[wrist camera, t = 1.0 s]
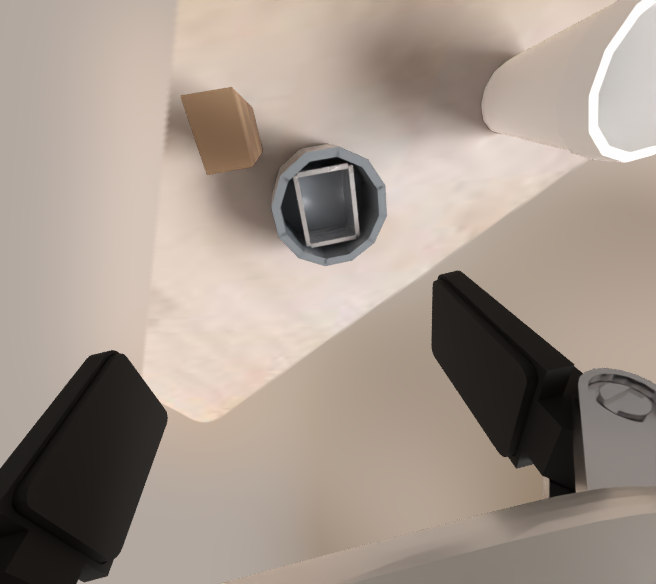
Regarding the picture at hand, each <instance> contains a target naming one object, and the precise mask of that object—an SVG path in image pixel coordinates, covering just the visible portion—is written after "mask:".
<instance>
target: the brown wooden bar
mask: <svg viewBox="0 0 656 584" xmlns="http://www.w3.org/2000/svg"><path fill="white" fill-rule="evenodd" d="M181 99H182V102H183V105H184V108H185V111H186V114H187V117H188V120H189V123H190V126H191V129H192V132H193V135H194V138H195V141H196V144H197V147H198V150H199V153H200V156H201V159H202V162H203V165H204V168H205V171H206V174H207V175H210V174H216V173H221V172H227V171H232V170H238V169H243V168H248V167H253V165H254V164H255V162H256V161H257V159H258V158H259V156H260V155H261V153H262V151H263V150H262V145H261V141H260V137H259V133H258V129H257V124H256V120H255V116H254V112H253V108H252V107H251V106H250V105H249V104H248V103H247V102H246V101H245V100H244V99H243V98H242V97H241V96H240V95H239V94H238V93H237V92H236V91H235V90H234V89H233V88H232V87H229V88H223V89H217V90H211V91H205V92H199V93H193V94H187V95H181Z"/></svg>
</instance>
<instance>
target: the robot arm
mask: <svg viewBox="0 0 656 584" xmlns="http://www.w3.org/2000/svg"><path fill="white" fill-rule="evenodd" d="M432 300H433V301H432V352H433V354H434V356H435V358H436V360H437V361H438V363H439V364H440V366H441V367H442V369H443V370H444V372H445V373H446V375H447V376H448V378H449V379H450V381H451V382H452V383H453V385H454V387H455V388H456V390H457V391H458V392H459V394H460V395H461V397H462V399H463V400H464V402H465V403H466V405H467V406H468V408H469V409H470V410H471V412H472V414H473V415H474V417H475V418H476V419H477V421H478V423H479V424H480V426H481V427H482V428H483V430H484V431H485V433H486V434H487V436H488V437H489V439H490V441H491V442H492V444H493V445H494V446H495V448H496V449H497V451H498V452H499V453H500V454H501V455H502V456H503V457H509V459H510V460H511V462H512V463H513V465H514V466H515V467H516V468H521V467H524V466H528V465H532V464H534V465H535V466H536V468H537V469H538V470H539V472H540V473H541V475H542V476H544V499H543V500H539V501H535V502H530V503H526V504H522V505H518V506H514V507H510V508H506V509H502V510H497V511H493V512H489V513H485V514H481V515H477V516H473V517H469V518H465V519H461V520H457V521H454V522H450V523H446V524H443V525H438V526H435V527H431V528H427V529H423V530H420V531H416V532H412V533H408V534H404V535H400V536H397V537H393V538H389V539H385V540H382V541H377V542H374V543H370V544H366V545H362V546H358V547H355V548H351V549H348V550H343V551H340V552H336V553H332V554H328V555H325V556H321V557H317V558H313V559H310V560H306V561H302V562H299V563H295V564H291V565H288V566H284V567H280V568H276V569H273V570H269V571H265V572H262V573H257V574H254V575H250V576H246V577H243V578H239V579H235V580H232V581H228V582H224V583H220V584H656V384H654V383H652V382H651V381H649V380H647V379H645V378H642V377H640V376H638V375H636V374H632V373H629V372H625V371H622V370H617V369H609V368H598V369H592V370H589V371H586V372H584V373H582V372H581V371H579V370H578V369H577V368H575V367H574V364H573V363H572V362H571V361H570V360H568V359H567V358H566V357H564V356H563V355H562V354H561V353H560V352H558V351H557V350H556V349H555V348H554V347H552V346H551V345H550V344H549V343H548V342H546V341H545V340H544V339H543V338H541V337H540V336H539V335H538V334H537V333H535V332H534V331H533V330H532V329H531V328H529V327H528V326H527V325H526V324H524V323H523V322H522V321H520V319H518V318H517V317H516V316H515V315H513V314H512V313H511V312H510V311H508V310H507V309H506V308H505V307H504V306H503V305H501V304H500V303H499V302H498V301H496V300H495V299H494V298H493V297H491V296H490V295H489V294H488V293H487V292H485V291H484V290H483V289H482V288H480V287H479V286H478V285H477V284H476V283H474V282H473V281H472V280H471V279H469V278H468V277H467V276H466V275H465V274H463V273H462V272H461V271H454V272H450V273H445V274H441V275H439V276H438V280H436V281H434V282H433V297H432ZM167 418H168V417H167V412H166V410H165V409H164V407H163V406H162V405H161V403H160V402H159V400H158V399H157V398H156V396H155V395H154V394H153V392H152V391H151V389H150V388H149V387H148V385H147V384H146V383H145V381H144V380H143V379H142V377H141V376H140V374H139V373H138V372H137V370H136V369H135V368H134V366H133V365H132V363H131V362H130V361H129V360H128V358H127V357H126V356H125V355H124V354H120V353H118V352H117V351H113V350H111V351H107V352H103V353H99V354H94V355H91V356H89V357H88V358H87V359H86V360H85V362H84V363H83V364H82V365H81V367H80V368H79V369H78V371H77V372H76V373H75V374H74V376H73V377H72V378H71V379H70V381H69V382H68V383H67V385H66V386H65V387H64V388H63V390H62V391H61V392H60V393H59V395H58V396H57V397H56V398H55V400H54V401H53V402H52V404H51V405H50V406H49V408H48V409H47V410H46V411H45V413H44V414H43V415H42V416H41V418H40V419H39V420H38V421H37V423H36V424H35V425H34V426H33V428H32V429H31V430H30V431H29V433H28V434H27V435H26V437H25V438H24V439H23V440H22V442H21V443H20V444H19V445H18V447H17V448H16V449H15V450H14V452H13V453H12V454H11V456H10V457H9V458H8V459H7V461H6V462H5V463H4V465H3V466H2V467H1V468H0V584H76V583H77V581H78V579H79V580H81V581H83V582H87V581H91V580H95V579H99V578H102V577H106V576H108V573H109V571H110V568H111V565H112V563H113V560H114V559H115V558H116V557H117V556H118V555H119V553H120V552H121V549H122V547H123V544H124V542H125V539H126V536H127V533H128V530H129V528H130V524H131V522H132V519H133V516H134V513H135V511H136V508H137V505H138V502H139V499H140V497H141V494H142V491H143V488H144V486H145V483H146V480H147V477H148V474H149V472H150V469H151V466H152V463H153V460H154V458H155V455H156V452H157V449H158V446H159V444H160V441H161V438H162V435H163V432H164V429H165V427H166V424H167Z"/></svg>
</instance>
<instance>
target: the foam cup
mask: <svg viewBox="0 0 656 584" xmlns="http://www.w3.org/2000/svg"><path fill="white" fill-rule="evenodd" d="M481 109H482V115H483V121H484V122H485V123H486V125H487V126H488V127H489V129H490V130H491V131H494V132H497V133H500V134H504V135H507V136H511V137H515V138H519V139H523V140H528V141H532V142H536V143H540V144H544V145H548V146H552V147H556V148H560V149H564V150H569V151H570V152H571V153H573V154H576V155H579V156H583V157H586V158H589V159H592V160H604V161H614V162H629V161H633V160H636V159H640V158H644V157H647V156H651V155H654V154H656V0H618V1H616V2H615V3H613V4H612V5H610V6H608V7H606V8H604V9H602V10H600V11H599V12H597V13H595V14H593V15H591V16H589V17H587V18H585V19H584V20H582V21H580V22H578V23H576V24H574V25H572V26H570V27H569V28H567V29H565V30H563V31H561V32H559V33H557V34H555V35H554V36H552V37H550V38H548V39H546V40H544V41H542V42H540V43H539V44H537V45H535V46H533V47H531V48H529V49H527V50H526V51H524V52H522V53H520V54H518V55H516V56H514V57H512V58H511V59H510V60H507V61H506V62H505V63H504V64H503V65H501V66H500V67H499V68H498V69H497V70H496V71H494V73H493V75H492V76H491V78H490V80H489V81H488V83H487V85H486V87H485V89H484V94H483V98H482V103H481Z"/></svg>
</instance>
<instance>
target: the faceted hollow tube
mask: <svg viewBox="0 0 656 584" xmlns="http://www.w3.org/2000/svg"><path fill="white" fill-rule="evenodd" d="M333 160H342V161H345V162H347V163H349V164H352V165H353V172H354V182H355V191H356V201H357V211H358V221H359V231H360V236H358V237H356V239H354V240H349V241H344V242H339V243H334V244H329V245H324V246H319V247H314V248H311V246H309V247H307V245H306V241H305V237H304V234H303V229H302V224H301V219H300V214H299V209H298V204H297V199H296V194H295V189H294V184H293V179H292V177H293V176H294V175H296V174H297V173H298V172H299V171H300V170H301V169H302V168H303V167H304V166H306V165H311V164H317V163H322V162H328V161H333ZM298 180H299V186H300V191H301V196H302V201H303V206H304V212H305V217H306V222H307V227H308V231H312V230H317V229H322V228H327V227H332V226H337V225H343V224H347V219H346V211H345V203H344V195H343V186H342V178H341V170H337V171H331V172H326V173H321V174H315V175H310V176H305V177H299V178H298ZM271 209H272V213H273V217H274V221H275V225H276V229H277V233H278V237H279V238H280V239H281V240H282V241H283V242H284V244H285V245H286V246H287V247H288V248H289V249H290V250H291V251H292V252H293V253H294V254H295V255H296V256H297V257H298V258H300V259H303V260H306V261H310V262H313V263H317V264H320V265H323V266H328V265H333V264H338V263H342V262H347V261H352V260H353V259H355V258H356V257H357V256H359V255H360V254H361V253H362V252H364V251H365V250H366V249H367V248H369V247H370V246H371V245H372V244H374V243H375V241H376V238H377V236H378V234H379V232H380V230H381V228H382V225H383V223H384V221H385V219H386V217H387V209H386V190H385V184H384V183H383V181H382V180H381V178H380V177H379V175H378V174H377V172H376V171H375V169H374V168H373V166H372V165H371V163H370V162H369V160H368V159H366V158H364V157H362V156H359V155H357V154H355V153H352V152H350V151H348V150H345V149H343V148H341V147H339V146H334V145H330V144H322V145H317V146H311V147H305V148H300V149H299V150H298V151H297V152H296V153H295V154H294V155H293V156H291V157H290V158H289V159H288V160H287V161H286V162H285V163H284V164H283V165H282V166H281V167H280V168H279V172H278V175H277V178H276V182H275V185H274V189H273V192H272V203H271Z"/></svg>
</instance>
